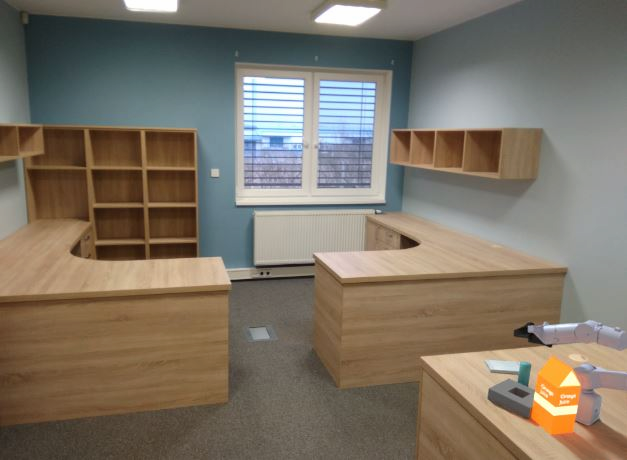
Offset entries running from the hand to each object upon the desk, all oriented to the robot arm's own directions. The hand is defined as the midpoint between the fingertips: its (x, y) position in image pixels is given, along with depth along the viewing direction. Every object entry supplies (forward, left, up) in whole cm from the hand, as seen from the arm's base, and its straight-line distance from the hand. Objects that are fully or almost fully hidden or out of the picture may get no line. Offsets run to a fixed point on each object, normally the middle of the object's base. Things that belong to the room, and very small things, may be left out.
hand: (521, 336), depth 169 cm
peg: (-2, -2, -18) cm, 18 cm away
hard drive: (+9, -9, -18) cm, 23 cm away
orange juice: (-19, +13, -18) cm, 29 cm away
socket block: (-7, +10, -18) cm, 21 cm away
